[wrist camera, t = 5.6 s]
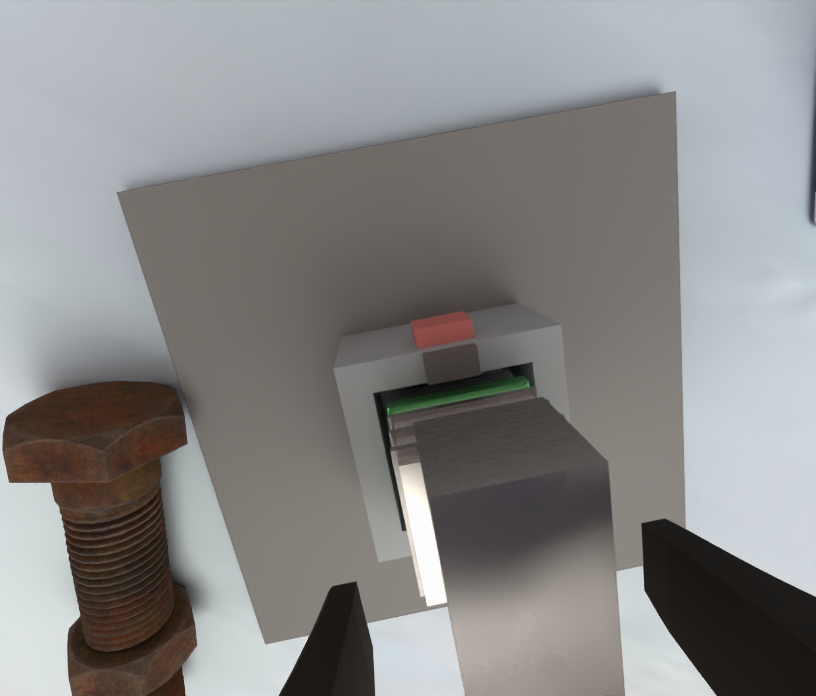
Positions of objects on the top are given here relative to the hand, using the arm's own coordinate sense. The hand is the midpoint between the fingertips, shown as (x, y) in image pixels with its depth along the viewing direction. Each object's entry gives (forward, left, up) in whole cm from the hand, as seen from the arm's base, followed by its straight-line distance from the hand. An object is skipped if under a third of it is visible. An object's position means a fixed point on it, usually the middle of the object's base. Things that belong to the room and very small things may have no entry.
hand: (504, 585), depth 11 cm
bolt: (+14, +3, -10) cm, 17 cm away
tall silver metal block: (0, -2, -5) cm, 5 cm away
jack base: (0, -2, -9) cm, 9 cm away
